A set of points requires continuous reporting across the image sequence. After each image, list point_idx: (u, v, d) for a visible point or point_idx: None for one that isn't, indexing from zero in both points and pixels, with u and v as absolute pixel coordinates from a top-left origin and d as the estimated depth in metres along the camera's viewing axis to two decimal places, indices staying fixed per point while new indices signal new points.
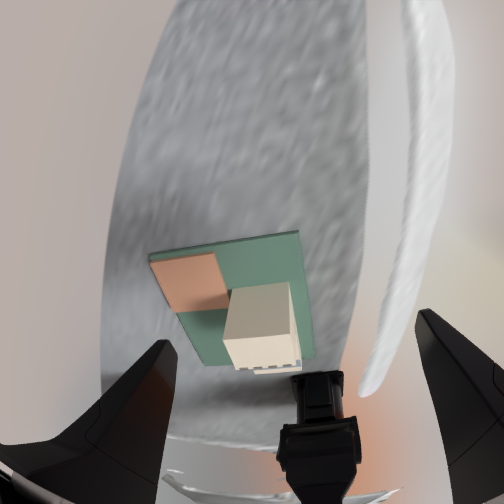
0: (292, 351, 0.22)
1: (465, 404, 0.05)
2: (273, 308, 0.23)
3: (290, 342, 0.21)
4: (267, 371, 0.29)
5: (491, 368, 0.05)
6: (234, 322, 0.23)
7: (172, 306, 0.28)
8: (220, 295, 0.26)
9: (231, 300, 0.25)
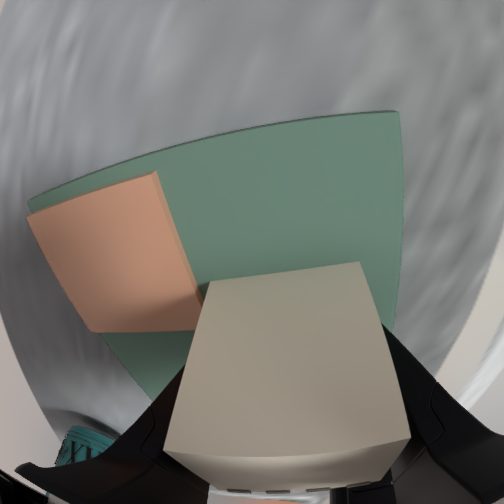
0: (388, 465, 0.05)
1: None
2: (335, 342, 0.07)
3: (397, 453, 0.05)
4: None
5: (431, 388, 0.06)
6: (206, 389, 0.06)
7: (85, 319, 0.11)
8: (179, 297, 0.10)
9: (204, 313, 0.09)
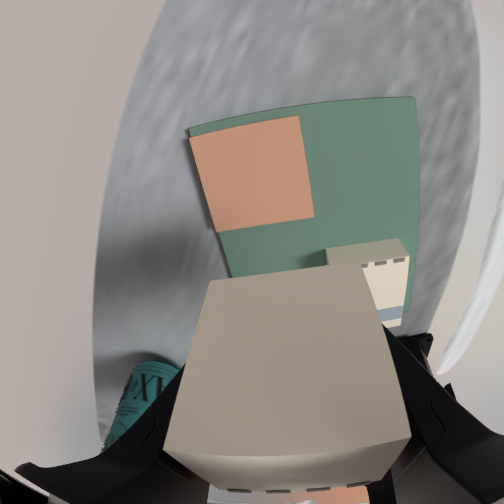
0: (389, 465, 0.05)
1: None
2: (335, 341, 0.07)
3: (397, 452, 0.05)
4: None
5: (431, 388, 0.06)
6: (206, 389, 0.06)
7: (215, 219, 0.18)
8: (299, 193, 0.16)
9: (204, 312, 0.09)
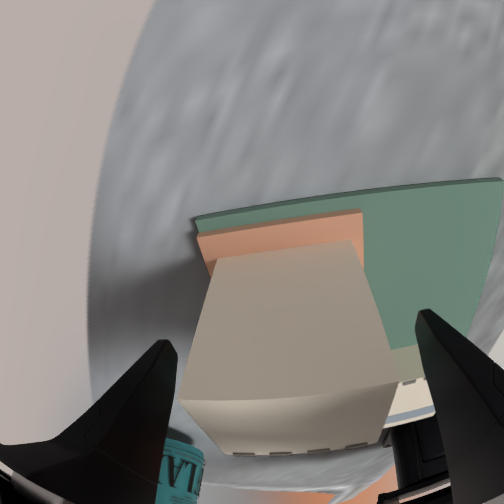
0: (383, 420, 0.06)
1: (465, 404, 0.05)
2: (330, 303, 0.08)
3: (389, 402, 0.06)
4: (385, 426, 0.15)
5: (491, 368, 0.05)
6: (216, 345, 0.07)
7: None
8: None
9: (212, 284, 0.10)
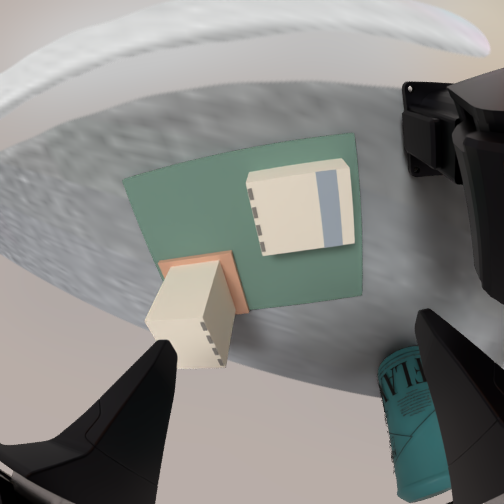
0: (174, 320, 0.17)
1: (465, 404, 0.05)
2: None
3: (158, 321, 0.17)
4: (347, 224, 0.18)
5: (491, 368, 0.05)
6: None
7: (238, 312, 0.25)
8: None
9: None
